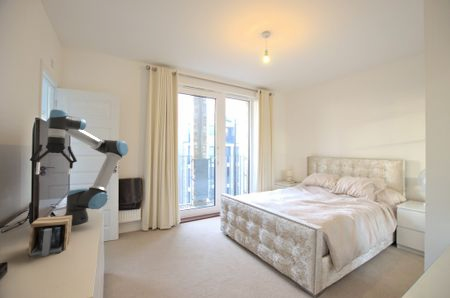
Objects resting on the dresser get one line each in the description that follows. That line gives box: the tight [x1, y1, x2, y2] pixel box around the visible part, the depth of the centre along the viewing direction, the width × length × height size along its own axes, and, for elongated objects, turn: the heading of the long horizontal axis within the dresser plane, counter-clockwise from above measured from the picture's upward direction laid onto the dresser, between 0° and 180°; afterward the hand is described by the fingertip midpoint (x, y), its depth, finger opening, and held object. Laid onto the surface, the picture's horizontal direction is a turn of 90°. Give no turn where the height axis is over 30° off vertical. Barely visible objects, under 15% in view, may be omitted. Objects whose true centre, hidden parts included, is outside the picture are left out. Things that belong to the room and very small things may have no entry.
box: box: [39, 224, 63, 250], centre depth 101 cm, size 8×6×11 cm
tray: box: [29, 228, 64, 258], centre depth 100 cm, size 14×11×12 cm
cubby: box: [27, 214, 73, 256], centre depth 102 cm, size 11×14×14 cm
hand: (53, 174), depth 111 cm, fingers open, 13 cm apart
